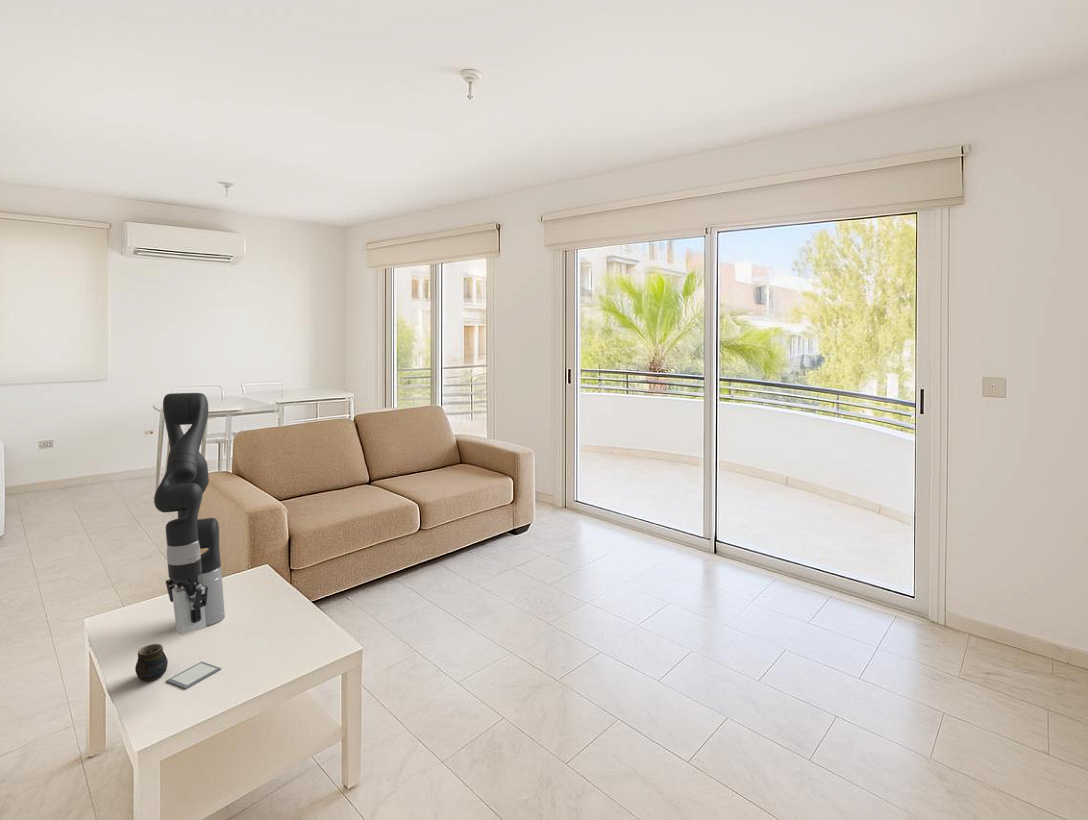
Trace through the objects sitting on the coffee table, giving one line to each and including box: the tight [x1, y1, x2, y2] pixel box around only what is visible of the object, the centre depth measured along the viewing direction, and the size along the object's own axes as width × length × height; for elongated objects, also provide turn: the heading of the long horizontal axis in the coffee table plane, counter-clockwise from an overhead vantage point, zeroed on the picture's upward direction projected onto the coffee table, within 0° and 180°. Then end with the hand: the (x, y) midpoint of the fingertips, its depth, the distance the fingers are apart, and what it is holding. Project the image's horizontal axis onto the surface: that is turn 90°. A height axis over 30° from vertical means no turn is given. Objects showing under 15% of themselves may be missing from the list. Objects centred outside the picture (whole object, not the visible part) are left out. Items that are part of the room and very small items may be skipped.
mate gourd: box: [134, 643, 169, 682], centre depth 159 cm, size 7×8×10 cm
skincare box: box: [172, 584, 207, 636], centre depth 158 cm, size 6×4×12 cm
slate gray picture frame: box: [165, 661, 222, 690], centre depth 160 cm, size 8×10×1 cm
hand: (189, 619), depth 158 cm, fingers closed on skincare box, 5 cm apart
